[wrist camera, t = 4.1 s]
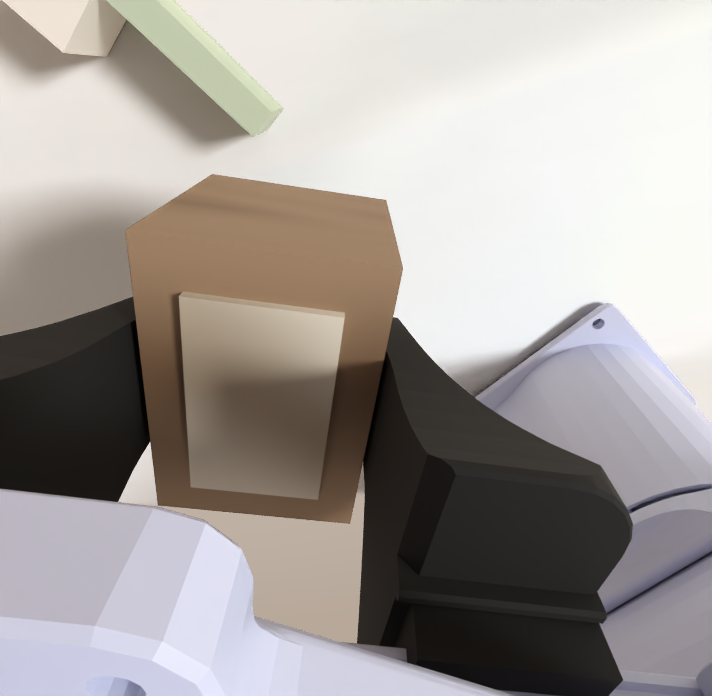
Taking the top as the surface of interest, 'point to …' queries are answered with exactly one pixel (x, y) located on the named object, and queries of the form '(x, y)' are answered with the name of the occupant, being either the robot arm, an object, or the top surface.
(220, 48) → the rack
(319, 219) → the cardboard box
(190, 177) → the top surface
